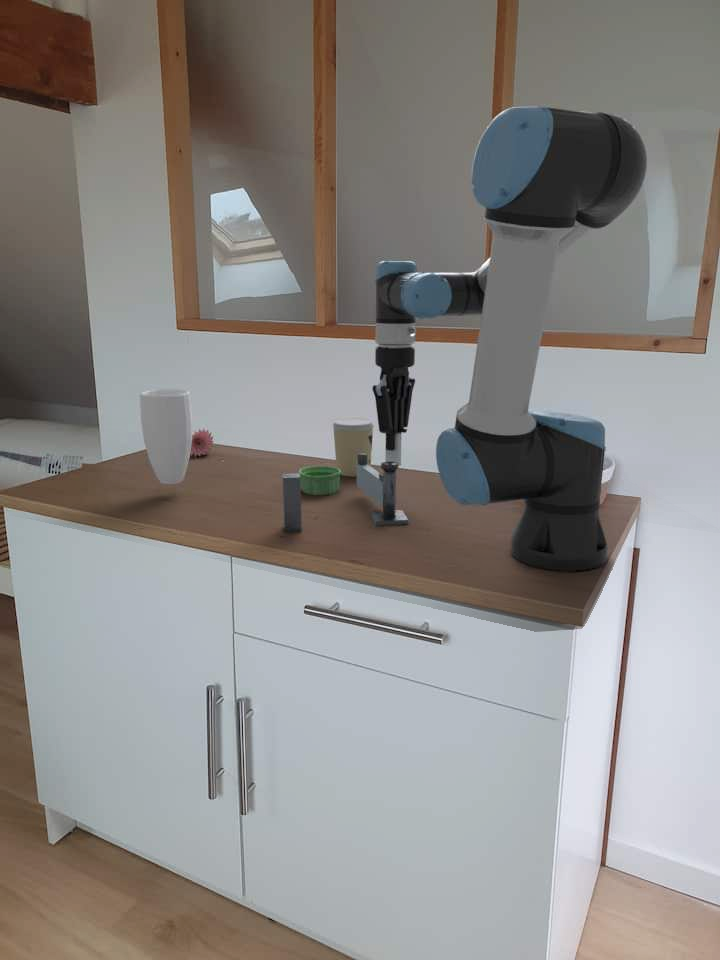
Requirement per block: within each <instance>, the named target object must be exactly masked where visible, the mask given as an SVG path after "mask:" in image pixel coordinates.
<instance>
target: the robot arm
mask: <svg viewBox="0 0 720 960" xmlns="http://www.w3.org/2000/svg"><path fill="white" fill-rule="evenodd" d="M645 146H646V145H645V143H644V141H643V139H642V136H641V135H640V133H639V132H638V131H637V129H636V128H635V126H634V125H632V124H631V123H630V122H628V121H627V120H626V119H624V118H622V117H621V116H618V115H616V114H613V113H607V112H593V111H592V112H591V111H583V110H582V111H581V110H580V111H579V110H570V109H563V108H555V107H545V106H541V105H537V106H513V107H509V108H507V109H504V110H502V111H501V112H500V113H499V114H497V115H496V116H495V117H494V118H493V119H492V121H491V122H490V124H489V125H488V126H487V127H486V129H485V130H484V132H483V134H481V138H480V140H479V142H478V144H477V147H476V150H475V153H474V157H473V162H472V168H471V184H472V185H473V188H472V192H473V195H474V198H475V200H476V201H477V203H479V204H480V205H481V206H482V207H484V209H485V210H484V217H483V221H484V222H485V223H486V224H487V226H488V227H489V229H490V230H491V232H492V234H493V236H492V241H491V249H490V255H489V256H490V257H489V258H488V259H487V260H486V261H485V262H484V263H483V264H482V265H481V266H480V267H479V268H478V269H477V270H476V271H473V272H432V271H431V272H429V271H428V272H425V271H422V272H418V270H417V264H416V263H415V262H414V261H409V260H407V261H406V260H404V261H399V260H398V261H397V260H396V261H395V260H383V261H380V262H379V263H378V264H377V265H376V272H375V273H376V274H375V275H376V276H375V281H374V283H375V336H374V337H375V338H374V339H375V341H374V343H376V344H377V346H376V347H375V352H374V353H375V357H374V361H375V363H374V364H375V366H377V367H379V368H380V373H379V374H380V375H379V382H378V384H374V385H372V392H373V395H374V398H375V406H376V408H375V409H376V413H377V415H376V416H377V423H378V431H379V432H380V433H381V434H384V435H385V461H384V462H397V463H398V467H399V466H401V465H402V433H407V431H408V426H409V422H410V421H409V419H410V413H411V412H410V411H411V406H412V398H413V391H414V387H415V384H416V379H415V378H412V377H410V371H409V368H412V367H413V366H414V365H415V361H416V360H415V356H416V353H415V352H416V348H415V347H414V346H412V345H413V344H415V342H416V333H417V329H416V319H421V320H422V319H423V320H424V319H435V318H437V317H438V318H439V317H440V318H441V317H471V316H472V317H474V316H477V317H479V316H481V317H480V325H479V330H478V336H477V345H476V351H475V358H474V365H473V371H472V379H471V384H470V391H469V400H468V402H467V403H466V404H464V405H463V406H461V407H460V408H458V410H457V412H456V416H455V417H456V418H455V423H454V424H455V425H454V427H452V428H451V427H450V428H447V429H445V430H443V431H442V432H441V433H440V435H438V438H437V441H436V447H435V458H436V459H435V460H436V465H437V466H436V467H437V470H438V474H439V477H440V480H441V482H442V485H443V487H444V489H445V491H446V492H447V494H448V496H450V497H451V499H452V500H453V501H454V502H456V503H457V504H459V505H462V506H477V505H481V506H487V505H489V504H496V503H503V502H512V501H519V500H524V502H523V503H524V505H523V509H522V511H521V514H520V517H519V519H518V521H517V523H516V526H515V527H514V528H515V529H514V531H513V533H512V536H511V542H510V544H511V545H510V553H511V555H512V556H513V557H514V559H516V560H518V561H520V562H522V563H524V564H526V565H529V566H532V567H535V568H539V569H543V568H544V570H549V569H550V571H556V570H557V571H558V570H560V571H558V572H577V571H576V570H583V571H588V570H587V569H590V570H593V568H594V569H596V568H597V569H598V568H600V567H601V566H604V564H605V563H606V562H607V556H608V543H607V539H606V535H605V531H604V526H603V523H602V519H601V515H600V505H601V494H602V480H603V471H604V461H605V451H607V449H606V448H607V447H606V446H605V445H606V428H605V426H604V425H603V423H602V422H601V421H600V420H597V419H595V418H591V417H589V416H587V417H586V416H583V415H577V414H571V413H565V412H556V411H549V410H535V411H532V412H529V406H530V401H531V397H532V396H531V395H532V392H533V387H534V386H533V385H534V380H535V379H534V378H535V374H536V369H537V364H538V359H539V353H540V347H541V342H542V338H543V336H542V335H543V332H544V325H545V320H546V314H547V308H548V303H549V299H550V294H551V287H552V281H553V278H554V277H553V276H554V270H555V268H556V267H555V266H556V260H557V259H559V257H560V256H562V255H563V254H564V253H565V252H567V250H569V249H570V248H571V247H572V246H574V245H576V243H577V242H578V241H579V240H581V239H582V238H583V237H584V236H586V234H588V233H589V232H590V231H592V230H600V229H604V228H606V227H607V226H608V225H610V224H611V223H612V222H614V220H616V219H617V218H618V217H620V215H621V214H623V213H624V212H625V211H626V210H627V209H628V208H629V206H630V205H631V204H632V203H633V202H634V200H635V199H636V198H637V196H638V194H639V193H640V191H641V189H642V187H643V184H644V181H645V177H646V173H647V162H648V161H647V160H648V158H647V151H646V147H645Z"/></svg>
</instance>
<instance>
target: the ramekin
mask: <svg viewBox="0 0 720 960" xmlns="http://www.w3.org/2000/svg"><path fill="white" fill-rule="evenodd" d="M298 473H299V474H300V486H301V492H302V493H305V494H307V495H310V496H311V495H312V496H326V495H327V496H328V495H332V494H335V493H337V492H339V490H340V478H341V477H340V476H341V475H340V474H341V470H340V469H339V468H337V466H336V467H334V466H330V465H313V466H305V467H302V468H301V469H299V470H298Z"/></svg>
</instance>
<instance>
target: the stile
mask: <svg viewBox="0 0 720 960" xmlns="http://www.w3.org/2000/svg"><path fill="white" fill-rule="evenodd" d="M301 492H302V490H301V482H300V474H299V472H293V473H292V472H291V473H282V502H283V505H282V506H283V527H284V533H292V532H295V533H296V532H302V494H301Z"/></svg>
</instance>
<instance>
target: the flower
mask: <svg viewBox="0 0 720 960" xmlns="http://www.w3.org/2000/svg"><path fill="white" fill-rule="evenodd" d="M213 438H214V436H213V435H212V432H209V429H207V430H206V429H205V428H203V429H202V430H201V429H200V428H198V431H195V430H194V434H192V443H191V451H190V456H191V457H192V456H193V455H194V457H195V458H197V456H199V457H202V456H203V455H204V456H205V455H207V454H208V453H209V452H211V450H212V448H213V443H214V439H213Z"/></svg>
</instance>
